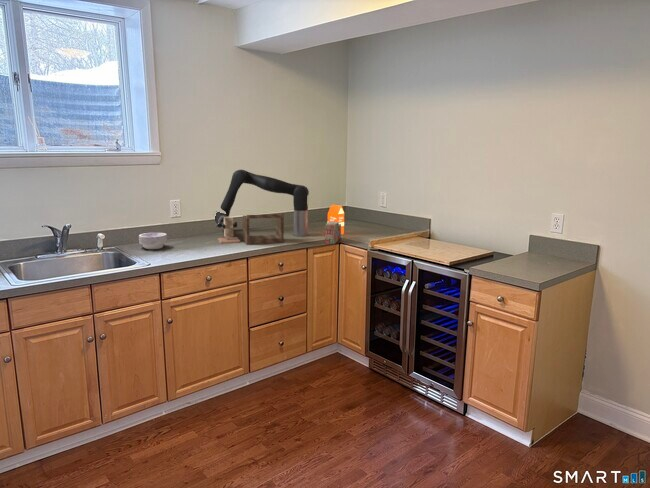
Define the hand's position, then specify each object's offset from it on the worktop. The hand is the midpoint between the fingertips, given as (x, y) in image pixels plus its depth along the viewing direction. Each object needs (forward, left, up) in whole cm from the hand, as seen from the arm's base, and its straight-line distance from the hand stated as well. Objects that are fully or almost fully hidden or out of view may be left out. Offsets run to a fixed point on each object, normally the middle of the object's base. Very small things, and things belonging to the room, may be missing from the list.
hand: (229, 226), depth 300 cm
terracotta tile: (0, -3, -9) cm, 10 cm away
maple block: (0, -3, -6) cm, 7 cm away
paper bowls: (+45, +6, -10) cm, 46 cm away
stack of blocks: (-65, +11, -10) cm, 67 cm away
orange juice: (-74, -8, -10) cm, 75 cm away
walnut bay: (-20, +5, -9) cm, 23 cm away
